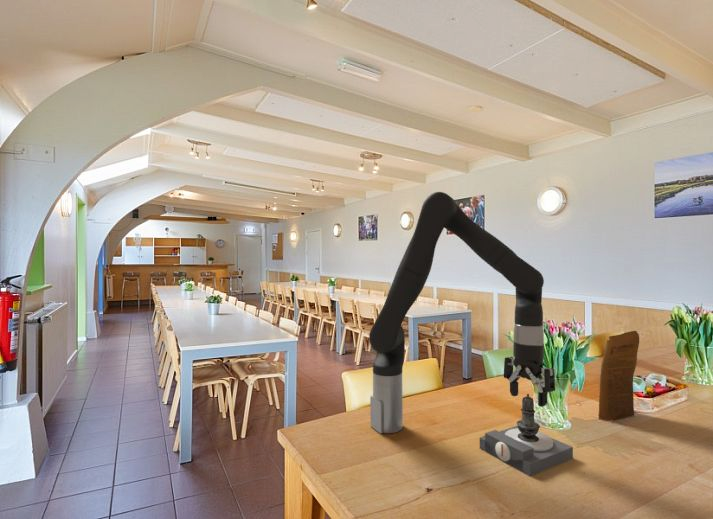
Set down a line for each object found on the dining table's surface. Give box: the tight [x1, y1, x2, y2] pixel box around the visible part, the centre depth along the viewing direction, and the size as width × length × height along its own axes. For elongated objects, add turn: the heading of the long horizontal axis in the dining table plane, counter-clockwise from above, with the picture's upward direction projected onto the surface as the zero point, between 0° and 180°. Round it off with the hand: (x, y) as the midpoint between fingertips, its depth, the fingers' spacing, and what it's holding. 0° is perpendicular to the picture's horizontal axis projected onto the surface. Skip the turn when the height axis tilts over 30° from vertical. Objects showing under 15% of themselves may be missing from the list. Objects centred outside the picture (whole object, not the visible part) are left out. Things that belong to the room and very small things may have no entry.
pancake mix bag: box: [598, 330, 640, 421], centre depth 129 cm, size 7×19×28 cm, turn 112°
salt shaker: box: [516, 393, 541, 442], centre depth 106 cm, size 6×6×12 cm
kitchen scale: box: [479, 425, 574, 477], centre depth 105 cm, size 17×16×5 cm
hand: (527, 400), depth 106 cm, fingers open, 8 cm apart
